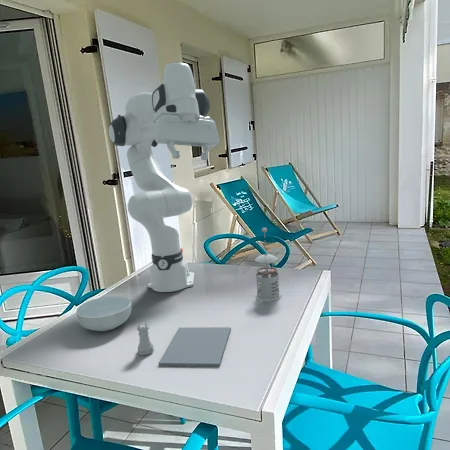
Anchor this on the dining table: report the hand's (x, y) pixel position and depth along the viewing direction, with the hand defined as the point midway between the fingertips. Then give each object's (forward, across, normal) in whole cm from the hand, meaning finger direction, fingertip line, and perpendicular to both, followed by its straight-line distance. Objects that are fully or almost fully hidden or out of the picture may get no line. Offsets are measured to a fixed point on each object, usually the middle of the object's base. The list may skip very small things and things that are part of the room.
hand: (190, 158), depth 118 cm
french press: (+43, -35, -19) cm, 59 cm away
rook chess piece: (+52, +15, -13) cm, 56 cm away
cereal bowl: (+44, +19, -37) cm, 61 cm away
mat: (+53, +3, -6) cm, 53 cm away
